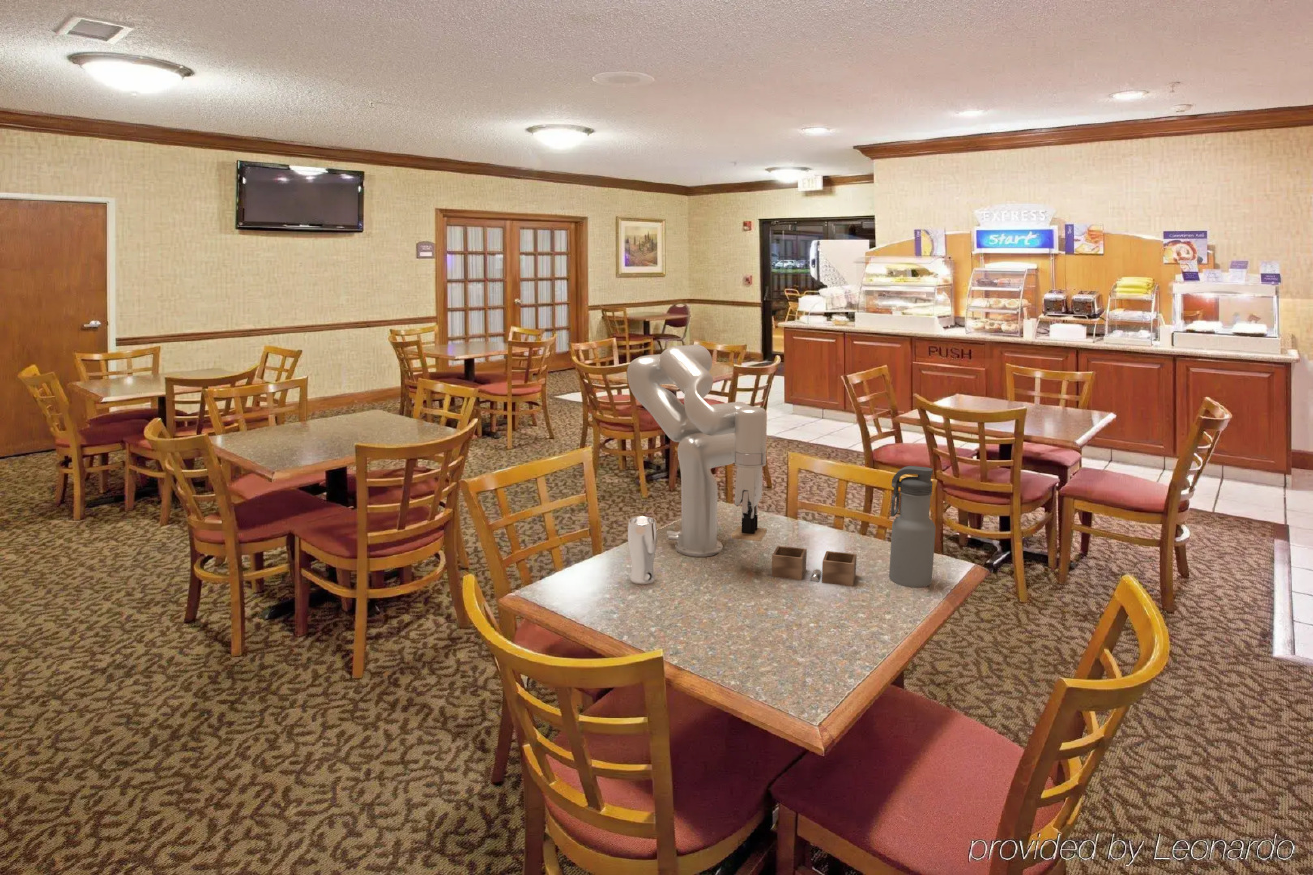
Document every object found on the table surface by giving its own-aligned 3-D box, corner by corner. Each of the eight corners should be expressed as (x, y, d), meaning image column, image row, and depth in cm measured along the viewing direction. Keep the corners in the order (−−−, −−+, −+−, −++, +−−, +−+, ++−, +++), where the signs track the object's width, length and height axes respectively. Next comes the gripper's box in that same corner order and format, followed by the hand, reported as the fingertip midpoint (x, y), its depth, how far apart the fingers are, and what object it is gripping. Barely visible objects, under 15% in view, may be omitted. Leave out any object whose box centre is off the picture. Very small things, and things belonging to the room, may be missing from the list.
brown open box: (771, 578, 193) (772, 555, 192) (777, 568, 200) (777, 545, 199) (801, 582, 191) (802, 558, 190) (805, 571, 197) (806, 548, 196)
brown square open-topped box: (821, 584, 189) (822, 560, 188) (825, 574, 196) (826, 550, 195) (852, 588, 187) (853, 564, 186) (855, 577, 194) (856, 554, 192)
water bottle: (883, 584, 189) (889, 470, 183) (891, 571, 198) (898, 461, 192) (927, 592, 184) (935, 475, 179) (934, 578, 193) (942, 466, 187)
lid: (731, 538, 193) (731, 512, 192) (738, 529, 200) (738, 504, 199) (761, 541, 191) (761, 514, 190) (766, 532, 198) (767, 506, 196)
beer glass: (623, 582, 191) (622, 522, 188) (637, 572, 197) (636, 514, 194) (648, 587, 188) (648, 526, 185) (662, 577, 194) (661, 518, 191)
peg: (812, 585, 190) (820, 582, 189) (808, 578, 190) (816, 575, 189) (815, 578, 195) (822, 575, 194) (811, 571, 195) (819, 568, 194)
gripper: (742, 450, 200) (741, 521, 204) (727, 464, 185) (726, 540, 189) (772, 452, 198) (771, 523, 201) (758, 466, 183) (757, 543, 187)
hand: (749, 531), depth 195 cm, fingers closed on lid
